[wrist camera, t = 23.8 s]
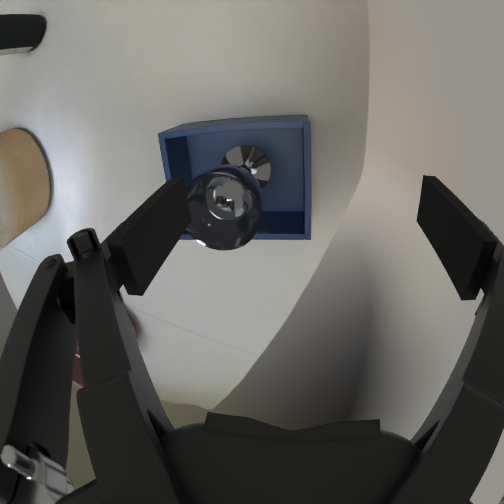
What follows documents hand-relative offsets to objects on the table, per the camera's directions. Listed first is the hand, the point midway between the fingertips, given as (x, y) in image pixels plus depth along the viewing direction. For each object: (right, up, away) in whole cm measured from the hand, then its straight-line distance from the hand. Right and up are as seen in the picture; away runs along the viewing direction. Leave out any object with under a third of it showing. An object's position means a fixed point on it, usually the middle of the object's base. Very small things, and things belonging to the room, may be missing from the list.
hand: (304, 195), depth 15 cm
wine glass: (-4, +9, +25) cm, 27 cm away
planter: (-52, +14, +31) cm, 62 cm away
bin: (-4, +9, +26) cm, 27 cm away
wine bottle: (-44, +38, +14) cm, 60 cm away
